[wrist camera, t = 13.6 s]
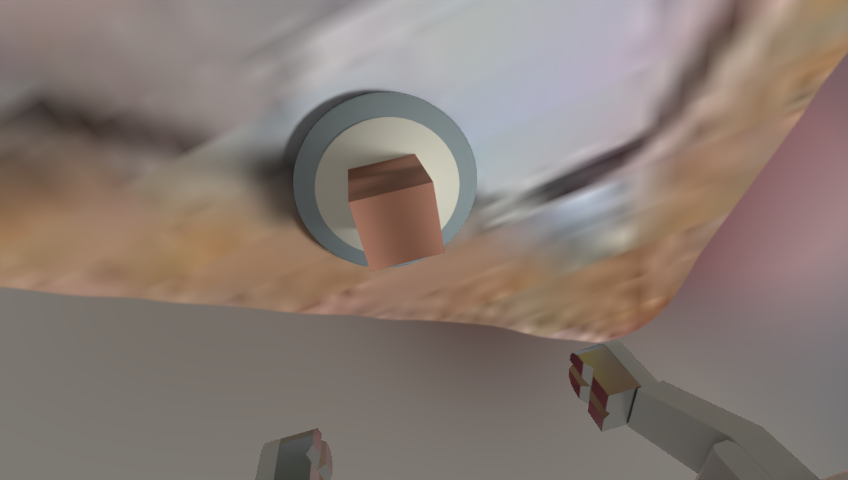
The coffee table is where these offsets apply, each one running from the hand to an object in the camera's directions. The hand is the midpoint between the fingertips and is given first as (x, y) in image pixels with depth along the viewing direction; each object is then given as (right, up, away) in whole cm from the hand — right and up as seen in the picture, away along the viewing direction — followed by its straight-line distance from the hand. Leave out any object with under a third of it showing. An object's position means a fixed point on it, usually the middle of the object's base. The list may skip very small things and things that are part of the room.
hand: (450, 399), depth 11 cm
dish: (-4, +9, +16) cm, 19 cm away
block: (-4, +9, +15) cm, 18 cm away
